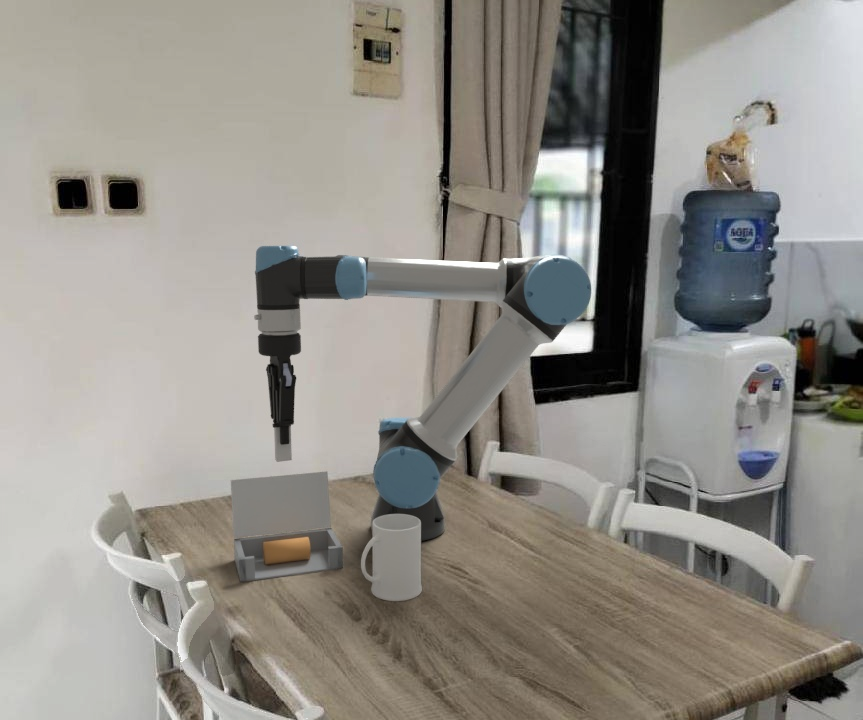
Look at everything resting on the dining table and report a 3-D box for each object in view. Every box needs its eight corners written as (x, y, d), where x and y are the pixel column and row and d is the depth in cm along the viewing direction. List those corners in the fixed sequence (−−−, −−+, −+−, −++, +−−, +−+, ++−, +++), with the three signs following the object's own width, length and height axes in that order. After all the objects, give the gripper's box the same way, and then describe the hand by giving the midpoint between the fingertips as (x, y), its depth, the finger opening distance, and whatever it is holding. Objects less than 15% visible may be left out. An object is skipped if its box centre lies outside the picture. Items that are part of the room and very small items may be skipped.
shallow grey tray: (331, 547, 147) (331, 527, 146) (343, 568, 137) (342, 547, 137) (234, 559, 141) (234, 539, 140) (240, 582, 131) (239, 559, 131)
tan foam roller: (306, 546, 143) (307, 532, 141) (309, 563, 140) (311, 549, 138) (262, 552, 141) (263, 537, 138) (265, 569, 138) (266, 554, 135)
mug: (374, 612, 121) (374, 539, 119) (344, 593, 127) (344, 524, 126) (432, 591, 128) (433, 523, 127) (401, 575, 135) (401, 509, 133)
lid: (331, 526, 146) (329, 526, 147) (327, 471, 147) (326, 471, 148) (233, 537, 140) (233, 537, 141) (230, 480, 141) (230, 479, 143)
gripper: (251, 329, 142) (255, 453, 145) (266, 337, 130) (270, 471, 134) (291, 328, 145) (294, 449, 148) (309, 335, 133) (312, 466, 137)
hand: (283, 459), depth 141 cm, fingers closed
